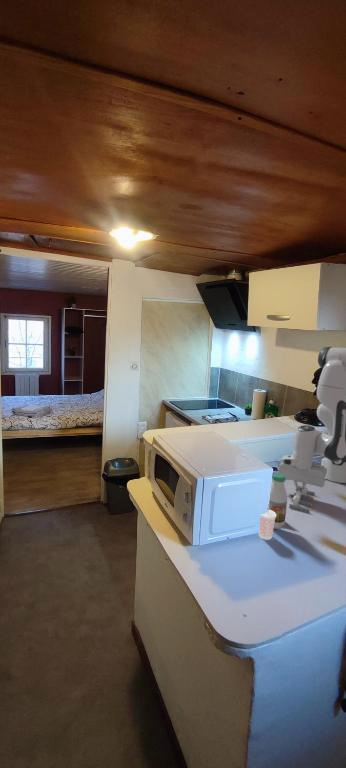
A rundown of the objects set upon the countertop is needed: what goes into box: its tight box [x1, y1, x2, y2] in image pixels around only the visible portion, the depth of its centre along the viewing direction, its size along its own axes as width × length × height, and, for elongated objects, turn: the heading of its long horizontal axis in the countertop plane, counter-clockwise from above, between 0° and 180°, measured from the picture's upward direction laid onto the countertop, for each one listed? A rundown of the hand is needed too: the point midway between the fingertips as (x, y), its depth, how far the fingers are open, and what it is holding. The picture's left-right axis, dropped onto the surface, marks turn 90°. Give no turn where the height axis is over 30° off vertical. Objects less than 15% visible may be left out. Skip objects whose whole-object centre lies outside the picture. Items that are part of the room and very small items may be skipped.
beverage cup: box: [258, 500, 276, 541], centre depth 131 cm, size 6×6×14 cm
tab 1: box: [294, 490, 302, 500], centre depth 158 cm, size 3×2×4 cm, turn 153°
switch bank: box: [288, 489, 316, 514], centre depth 158 cm, size 24×9×2 cm, turn 153°
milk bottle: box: [269, 472, 288, 530], centre depth 138 cm, size 8×8×20 cm
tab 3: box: [301, 485, 309, 496], centre depth 163 cm, size 3×2×4 cm, turn 153°
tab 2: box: [292, 495, 299, 506], centre depth 153 cm, size 3×2×4 cm, turn 152°
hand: (299, 490), depth 164 cm, fingers closed
